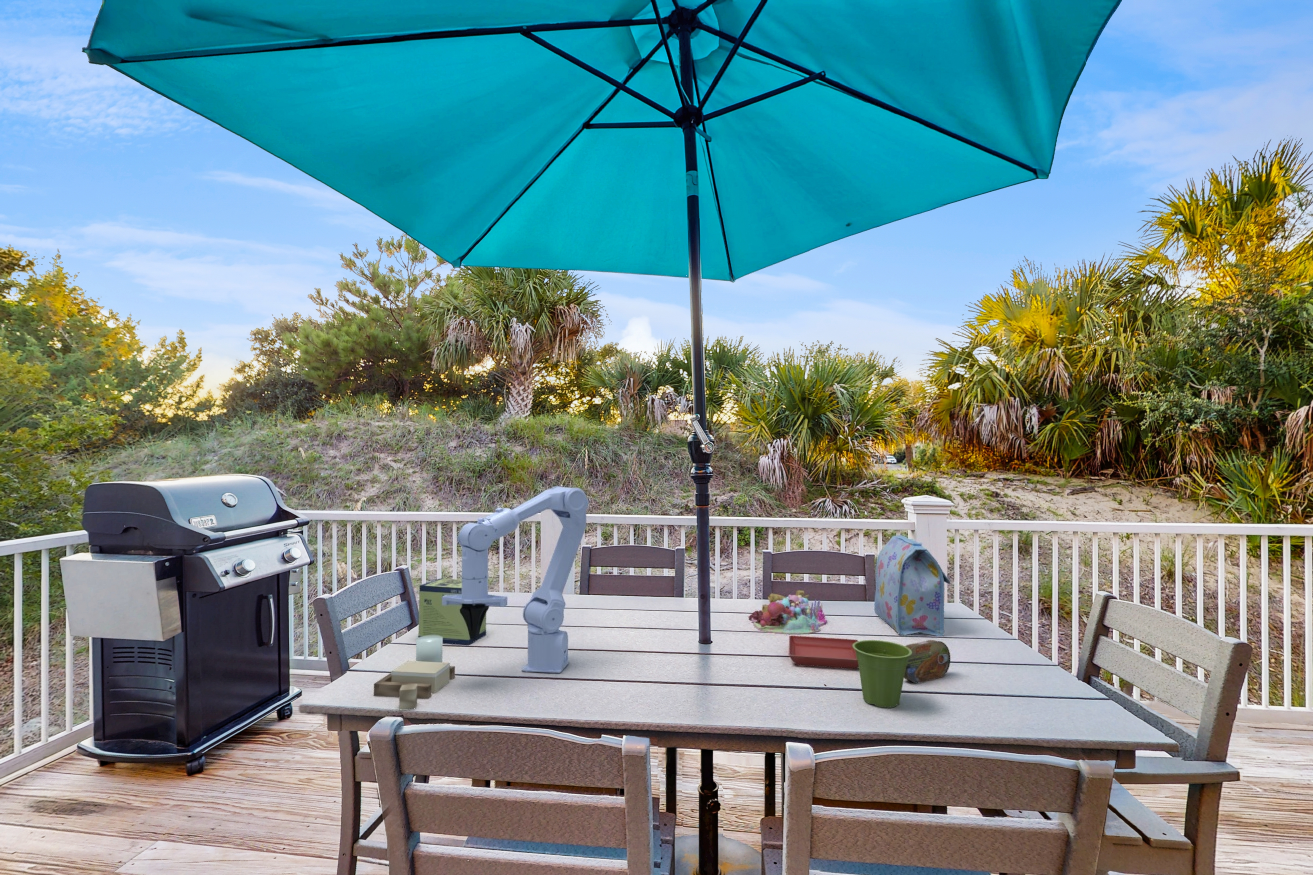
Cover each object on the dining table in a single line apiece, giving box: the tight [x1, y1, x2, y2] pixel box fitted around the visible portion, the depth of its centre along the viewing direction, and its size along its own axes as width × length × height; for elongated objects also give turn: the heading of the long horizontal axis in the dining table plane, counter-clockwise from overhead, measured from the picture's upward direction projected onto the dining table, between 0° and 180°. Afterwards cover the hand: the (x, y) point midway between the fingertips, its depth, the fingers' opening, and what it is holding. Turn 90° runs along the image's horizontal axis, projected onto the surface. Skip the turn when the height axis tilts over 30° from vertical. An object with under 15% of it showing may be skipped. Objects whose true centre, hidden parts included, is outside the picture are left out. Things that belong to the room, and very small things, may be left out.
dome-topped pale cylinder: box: [415, 635, 444, 663], centre depth 155 cm, size 6×6×7 cm
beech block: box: [398, 684, 418, 710], centre depth 131 cm, size 3×3×4 cm
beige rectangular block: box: [390, 660, 451, 694], centre depth 143 cm, size 10×7×4 cm
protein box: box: [417, 577, 487, 646], centre depth 179 cm, size 10×16×16 cm
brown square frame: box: [373, 665, 456, 700], centre depth 143 cm, size 12×13×2 cm
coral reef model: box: [748, 589, 828, 636], centre depth 197 cm, size 25×24×9 cm
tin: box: [904, 639, 951, 684], centre depth 149 cm, size 15×3×8 cm, turn 117°
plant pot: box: [852, 639, 912, 709], centre depth 135 cm, size 12×12×11 cm
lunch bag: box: [873, 534, 951, 637], centre depth 194 cm, size 22×17×26 cm
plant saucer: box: [788, 635, 859, 670], centre depth 164 cm, size 18×18×3 cm
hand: (474, 637), depth 144 cm, fingers closed
